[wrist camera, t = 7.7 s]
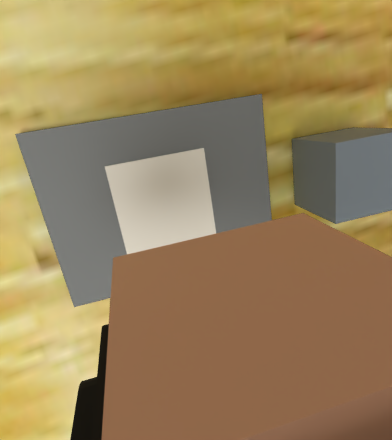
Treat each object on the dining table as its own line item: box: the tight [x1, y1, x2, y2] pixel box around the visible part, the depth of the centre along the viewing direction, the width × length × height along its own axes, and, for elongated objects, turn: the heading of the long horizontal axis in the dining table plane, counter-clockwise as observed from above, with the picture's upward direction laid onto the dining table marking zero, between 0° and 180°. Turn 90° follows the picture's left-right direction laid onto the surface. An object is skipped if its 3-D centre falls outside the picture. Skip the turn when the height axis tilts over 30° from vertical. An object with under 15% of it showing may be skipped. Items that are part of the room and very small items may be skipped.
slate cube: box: [292, 128, 392, 224], centre depth 26 cm, size 6×6×6 cm
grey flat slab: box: [15, 94, 272, 307], centre depth 25 cm, size 18×14×1 cm
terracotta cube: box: [102, 213, 392, 440], centre depth 8 cm, size 6×6×6 cm
